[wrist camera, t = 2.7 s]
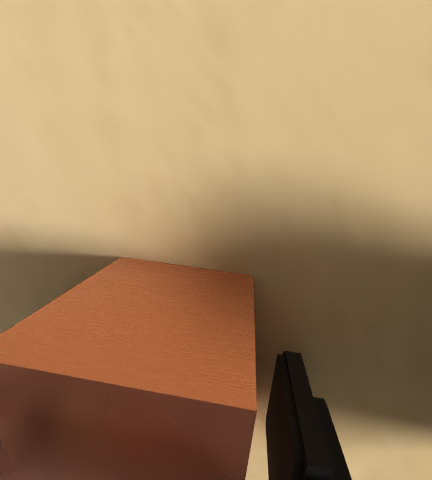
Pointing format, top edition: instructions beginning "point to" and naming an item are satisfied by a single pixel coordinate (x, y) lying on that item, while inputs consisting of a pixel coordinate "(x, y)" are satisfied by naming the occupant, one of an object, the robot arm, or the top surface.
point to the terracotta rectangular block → (132, 378)
